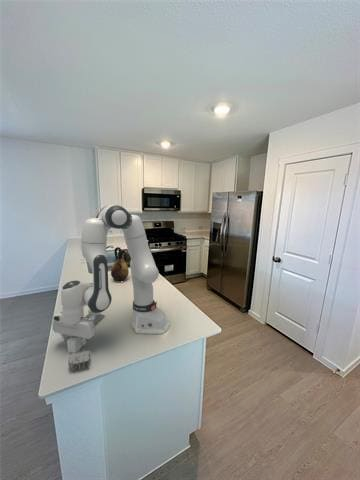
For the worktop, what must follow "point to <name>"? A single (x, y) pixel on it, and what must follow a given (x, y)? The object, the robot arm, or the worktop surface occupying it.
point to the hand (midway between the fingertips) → (74, 342)
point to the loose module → (74, 344)
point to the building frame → (82, 358)
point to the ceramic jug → (119, 266)
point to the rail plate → (93, 318)
